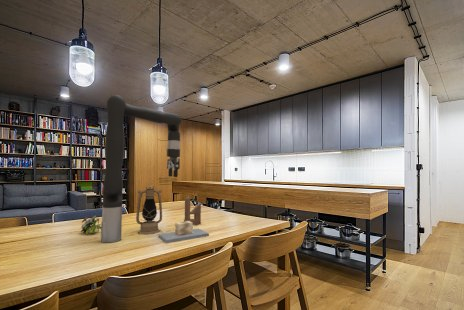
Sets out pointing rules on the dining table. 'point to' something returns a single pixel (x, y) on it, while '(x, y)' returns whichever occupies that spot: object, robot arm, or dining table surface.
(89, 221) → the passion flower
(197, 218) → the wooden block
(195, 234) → the slate board
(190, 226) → the sanding block
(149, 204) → the lantern
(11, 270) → the dining table surface
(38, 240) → the dining table surface
